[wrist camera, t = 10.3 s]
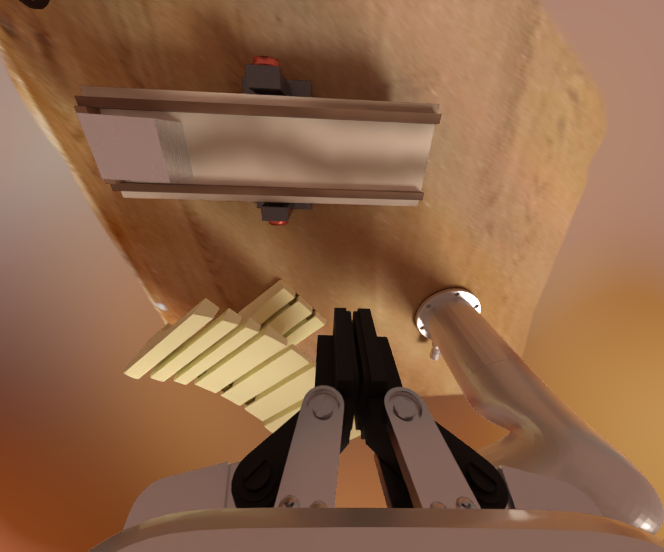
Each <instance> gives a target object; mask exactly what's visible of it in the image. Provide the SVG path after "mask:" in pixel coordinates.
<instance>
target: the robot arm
mask: <svg viewBox="0 0 664 552" xmlns="http://www.w3.org/2000/svg"><path fill="white" fill-rule="evenodd" d="M480 311H481V306H480V302H479V300H478V299H477V298H476V297H475V296H474V295H473V294H472V293H471V292H469V291H467V290H464V289H459V288H452V289H446V290H442V291H439V292H437V293H435V294H433V295H432V296H430V297H429V298H427V299H426V300H425V301H424V302H423V303H422V304H421V305H420V307H419V309H418V310H417V313H416V317H415V322H416V326H417V328H418V330H419V331H420V333H421V334H422V335H424V336H425V337H427V338H429V339H431V340H432V346H433V348H432V349H431V352H430V358H432V359H433V360H439V357H440V355H442V356H443V358H444V360H445V362H446V363H447V365H448V367H449V369H450V370H451V372H452V374H453V376H454V377H455V379H456V381H457V383H458V384H459V386H460V388H461V390H462V391H463V393H464V395H465V396H466V398H467V400H468V402H469V403H470V405H471V406H472V407H473V408H474V410H475V411H477V412H478V413H479V414H480V415H481V416H483V417H484V418H485V419H487V420H489V421H491V422H493V423H495V424H497V425H499V426H501V427H503V428H505V429H507V430H509V431H510V433H509V434H508V435H507V436H505V437H503V438H501V439H500V440H499V441H496V442H494V443H492V444H490V445H487V446H485V447H483V448H480V449H478V450H476V451H474V450H473V449H472V448H470V447H469V446H468V445H466V444H465V443H464V442H462V441H461V440H460V439H458V438H457V437H456V436H454V435H453V434H451V433H450V432H449V431H448V430H446V429H445V428H444V427H442V426H441V425H440V424H438V423H437V422H435V421H434V419H433V418H432V416H431V414H430V412H429V411H428V408H427V406H426V404H425V403H424V401H423V400H422V398H421V397H420V396H419V395H418V394H417V393H415V392H414V391H412V390H410V389H408V388H404V387H402V384H401V380H400V377H399V374H398V371H397V368H396V364H395V361H394V358H393V355H392V351H391V348H390V345H389V342H388V339H387V337H377V335H376V331H375V327H374V323H373V319H372V315H371V311H370V309H360V308H358V310H357V311H354V312H353V320H351V312H350V311H346V308H335V309H334V325H333V336H332V335H318V342H317V357H316V373H315V387H314V388H312V389H311V390H309V391H308V392H307V394H306V395H305V397H304V399H303V402H302V405H301V409H300V410H299V411H298V412H297V413H296V414H295V415H293V416H292V417H291V418H290V419H289V420H288V421H287V422H285V423H284V424H283V425H282V426H281V427H280V428H278V429H277V430H276V431H275V432H274V433H273V434H271V435H270V436H269V437H268V438H267V439H266V440H265V441H263V442H262V443H261V444H260V445H259V446H257V447H256V448H255V449H254V450H253V451H252V452H250V453H249V454H248V455H247V456H246V457H245V458H244V459H243V460H242V461H241V462H237V463H233V464H230V463H229V462H225V463H221V464H217V465H213V466H209V467H206V468H201V469H197V470H193V471H189V472H185V473H181V474H178V475H174V476H170V477H166V478H163V479H160V480H158V481H156V482H154V483H153V484H151V485H150V486H149V487H148V488H146V489H145V490H144V491H143V492H142V493H141V495H140V496H139V497H138V499H136V501H135V503H134V505H133V507H132V509H131V511H130V513H129V515H128V518H127V521H126V524H125V526H124V529H123V531H122V532H120V533H118V534H116V535H114V536H112V537H110V538H108V539H107V540H105V541H103V542H102V543H100V544H99V545H97V546H95V547H94V548H92V549H91V550H89V551H88V552H664V540H663V539H661V538H659V537H657V536H655V534H656V533H657V532H658V530H659V529H660V528H661V526H662V524H663V520H664V510H663V505H662V503H661V500H660V498H659V496H658V494H657V493H656V491H655V489H654V488H653V486H652V485H651V484H650V482H649V481H648V480H647V479H646V477H645V476H644V475H643V474H642V473H641V472H640V471H639V470H638V469H637V467H636V466H635V465H634V464H633V463H632V462H631V461H629V460H628V459H627V458H626V457H625V456H624V455H623V454H622V453H621V452H620V451H619V450H618V449H616V448H615V447H614V446H613V445H612V444H611V443H609V442H608V441H607V440H606V439H605V438H604V437H602V436H601V435H600V434H599V433H598V432H596V431H595V430H594V429H593V428H592V427H591V426H590V425H588V424H587V423H586V422H585V421H584V420H583V419H581V418H580V417H579V416H578V415H577V414H576V413H575V412H574V411H573V410H572V409H570V408H569V407H568V406H567V405H566V404H565V403H564V402H563V401H562V400H561V399H560V398H559V397H558V396H557V395H556V394H555V393H554V392H553V391H552V390H551V389H550V388H549V387H548V386H547V385H546V384H545V383H544V382H543V381H542V380H541V379H540V378H539V377H538V376H537V375H536V374H535V373H534V372H533V371H532V370H531V368H530V367H529V366H528V365H527V364H526V363H525V362H524V361H523V360H522V359H521V358H520V357H519V356H518V354H517V353H516V352H515V351H514V350H513V349H512V348H511V347H510V346H509V345H508V344H507V343H506V341H505V340H504V339H503V338H502V337H501V336H500V335H499V334H498V333H497V332H496V331H495V330H494V329H493V327H492V326H491V325H490V324H489V323H488V322H487V321H486V320H485V319H484V318H483V317H482V316H481V315H480ZM354 418H355V428H356V430H360V431H361V439H365V440H366V444H367V445H368V446H369V447H370V448H371V449H372V450H373V456H374V461H375V464H376V468H377V471H378V475H379V479H380V483H381V486H382V490H383V494H384V497H385V501H386V505H387V508H334V505H335V495H336V485H337V475H338V465H339V455H340V453H341V452H342V451H343V450H344V449H345V447H346V446H347V445H348V444H349V439H350V432H351V430H352V427H353V420H354Z"/></svg>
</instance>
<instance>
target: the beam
mask: <svg viewBox="0 0 664 552" xmlns="http://www.w3.org/2000/svg"><path fill="white" fill-rule="evenodd" d="M79 86H80V85H79ZM80 88H81V91H82V93H83V96H75V99H76V101H77V104H78V106H74V108H75V110H76V113H87V114H100V115H113V116H127V117H140V118H153V119H160V120H167V121H174V122H181V123H182V125H183V129H184V134H185V139H186V144H187V148H188V153H189V158H190V162H191V167H192V172H193V177H191V178H187V179H184V180H180V181H176V182H172V183H162V182H146V181H129V180H112V179H104V180H105V182H106V184H110V185H111V187H112V190H113V191H121V193H122V196H123V198H150V199H185V200H219V201H253V202H288V203H322V204H356V205H391V206H418V202H419V200H423V195H424V193H423V192H421V188H422V183H423V179H424V174H425V169H426V165H427V160H428V155H429V151H430V146H431V141H432V137H433V132H434V127H435V124H439V123H440V119H441V114H437V113H438V109H439V104H430V103H410V102H391V101H372V100H352V99H333V98H313V97H294V96H275V95H255V94H236V93H216V92H197V91H177V90H158V89H139V88H119V87H100V86H80Z"/></svg>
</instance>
